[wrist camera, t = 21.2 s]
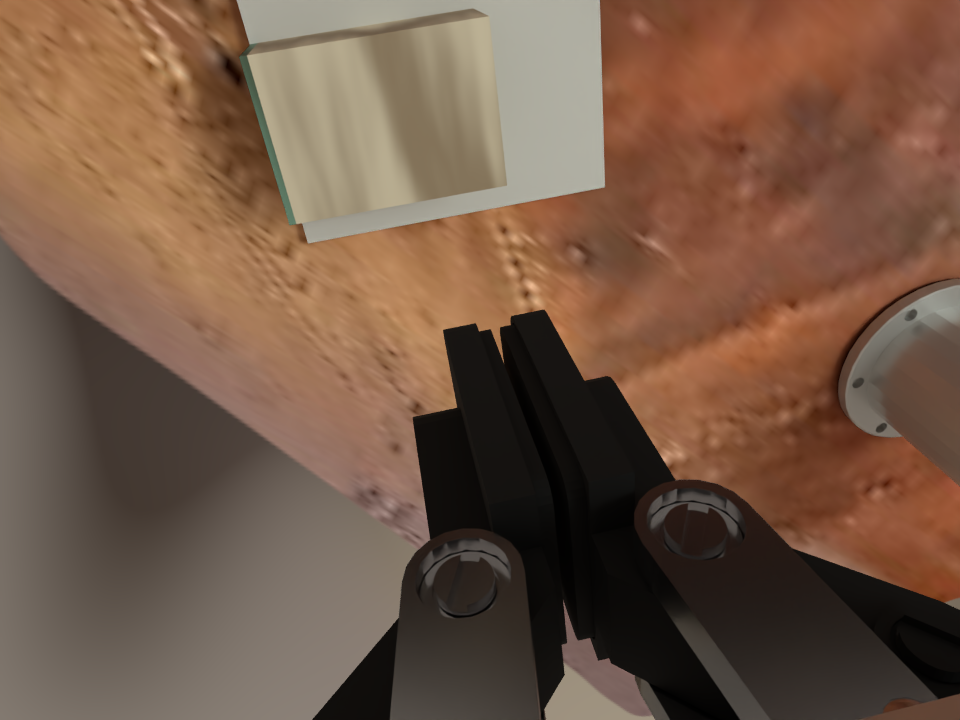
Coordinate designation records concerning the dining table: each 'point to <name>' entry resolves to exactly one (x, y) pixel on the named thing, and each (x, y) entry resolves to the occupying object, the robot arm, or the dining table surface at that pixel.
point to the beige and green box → (379, 114)
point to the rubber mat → (520, 87)
